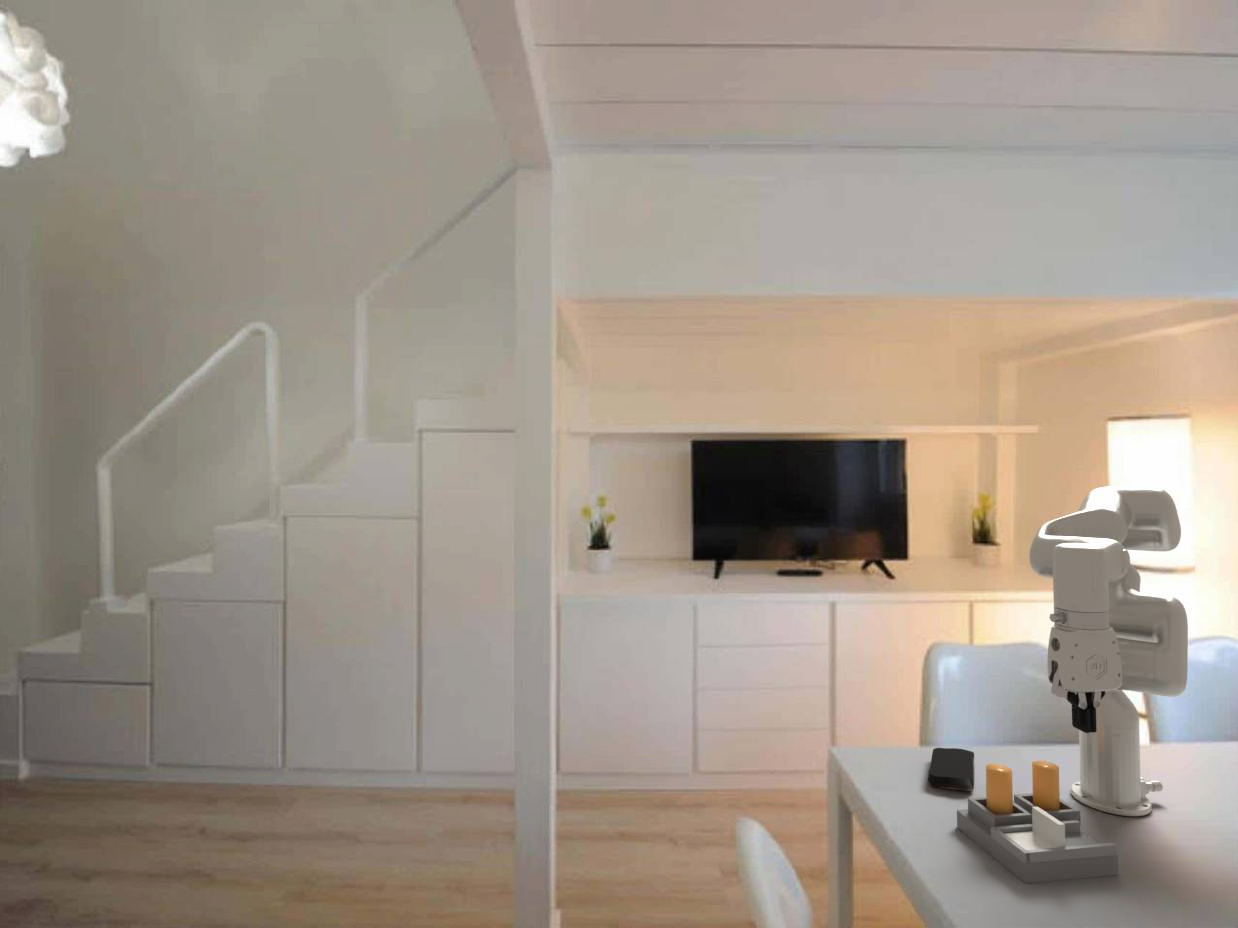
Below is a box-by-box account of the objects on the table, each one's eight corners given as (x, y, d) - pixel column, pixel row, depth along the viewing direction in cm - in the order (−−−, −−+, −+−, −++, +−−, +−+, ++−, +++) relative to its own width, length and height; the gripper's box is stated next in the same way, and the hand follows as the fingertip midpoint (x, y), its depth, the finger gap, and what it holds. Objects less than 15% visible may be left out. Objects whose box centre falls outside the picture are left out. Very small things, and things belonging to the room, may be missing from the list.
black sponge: (974, 798, 132) (974, 779, 132) (927, 789, 136) (926, 771, 136) (975, 766, 146) (974, 749, 146) (932, 759, 150) (932, 742, 151)
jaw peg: (1002, 814, 119) (1001, 763, 119) (1018, 825, 115) (1017, 773, 116) (981, 815, 119) (980, 764, 119) (996, 827, 115) (995, 774, 115)
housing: (1045, 819, 123) (1044, 753, 123) (1126, 873, 106) (1125, 797, 107) (957, 826, 121) (955, 759, 121) (1025, 883, 104) (1024, 805, 104)
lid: (1038, 834, 112) (1037, 806, 112) (1065, 854, 106) (1064, 824, 106) (999, 838, 111) (998, 809, 111) (1024, 857, 105) (1024, 827, 105)
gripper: (1057, 627, 106) (1061, 743, 106) (1142, 621, 108) (1145, 734, 108) (1023, 616, 113) (1026, 724, 114) (1102, 610, 115) (1105, 717, 116)
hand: (1084, 729), depth 111 cm, fingers closed
